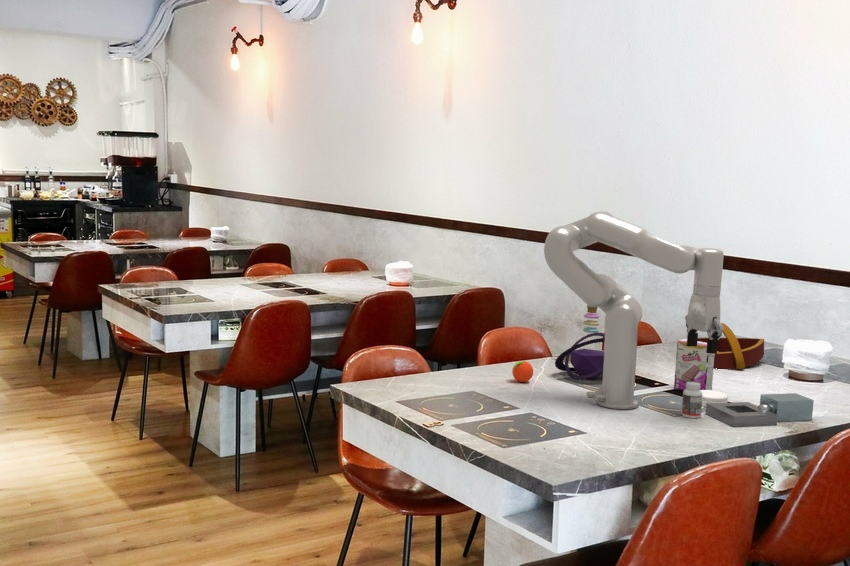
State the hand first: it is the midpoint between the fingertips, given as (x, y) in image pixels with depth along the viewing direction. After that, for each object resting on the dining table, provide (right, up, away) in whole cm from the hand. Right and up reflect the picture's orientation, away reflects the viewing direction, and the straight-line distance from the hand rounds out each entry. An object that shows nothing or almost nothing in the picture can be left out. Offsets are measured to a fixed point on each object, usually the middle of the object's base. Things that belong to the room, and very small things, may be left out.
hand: (701, 349), depth 258 cm
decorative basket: (+34, -11, +81) cm, 88 cm away
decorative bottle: (-24, -13, +46) cm, 53 cm away
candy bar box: (+7, -16, +30) cm, 35 cm away
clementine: (-49, -14, +35) cm, 61 cm away
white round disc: (+7, -18, +15) cm, 25 cm away
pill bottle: (-3, -20, 0) cm, 20 cm away
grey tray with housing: (+18, -20, 0) cm, 27 cm away
